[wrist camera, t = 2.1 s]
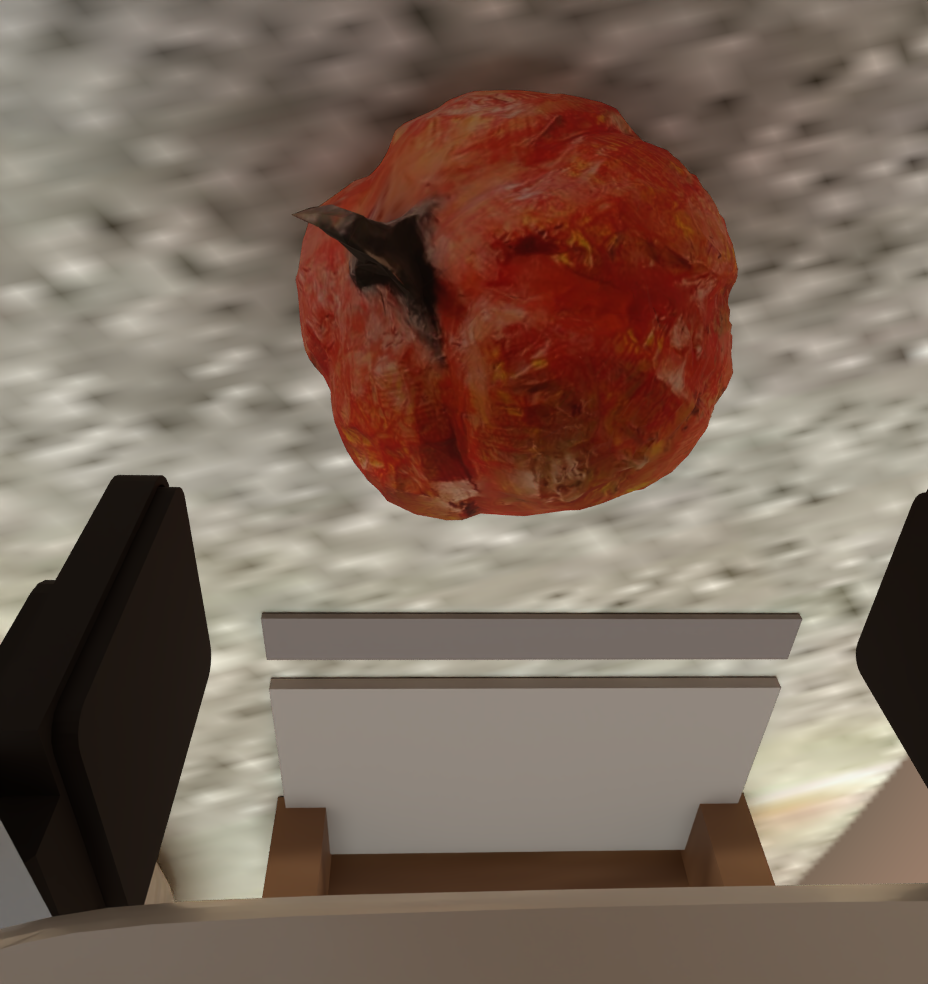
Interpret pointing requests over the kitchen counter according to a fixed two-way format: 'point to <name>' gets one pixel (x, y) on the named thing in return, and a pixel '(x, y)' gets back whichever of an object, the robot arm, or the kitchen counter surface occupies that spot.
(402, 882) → the backstop rail
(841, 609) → the kitchen counter surface
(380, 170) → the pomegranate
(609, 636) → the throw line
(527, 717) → the mat
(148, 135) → the kitchen counter surface
